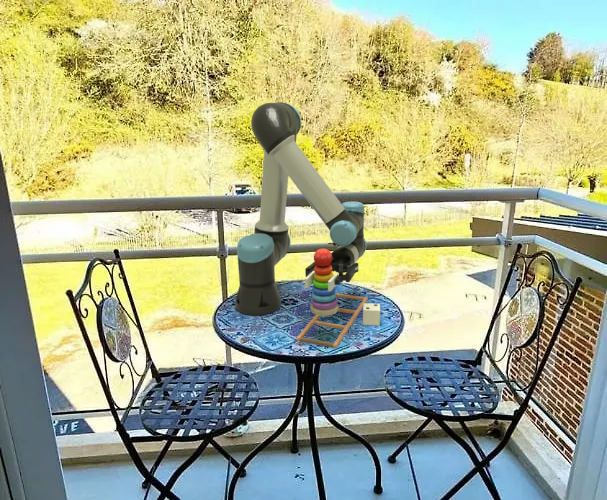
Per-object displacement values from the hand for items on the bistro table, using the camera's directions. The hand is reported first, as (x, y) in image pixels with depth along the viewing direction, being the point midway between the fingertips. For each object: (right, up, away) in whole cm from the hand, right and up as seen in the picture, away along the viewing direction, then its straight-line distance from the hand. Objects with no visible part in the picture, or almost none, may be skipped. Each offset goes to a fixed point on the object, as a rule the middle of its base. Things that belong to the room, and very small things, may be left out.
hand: (317, 284), depth 124 cm
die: (+17, -13, +17) cm, 27 cm away
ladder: (+6, -12, +20) cm, 24 cm away
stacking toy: (+2, -8, +8) cm, 11 cm away
